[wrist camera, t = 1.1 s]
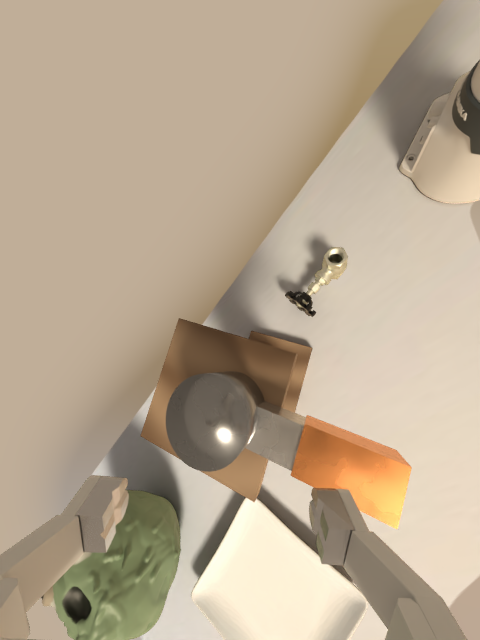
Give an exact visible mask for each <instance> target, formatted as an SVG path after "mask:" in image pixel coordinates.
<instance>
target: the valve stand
mask: <svg viewBox="0 0 480 640" xmlns="http://www.w3.org/2000/svg"><path fill="white" fill-rule="evenodd" d="M311 351H312V348H311V347H307V346H304V345H300V344H296V343H293V342H289V341H286V340H282V339H279V338H275V337H272V336H268V335H265V334H261V333H258V332H254V331H251V333H250V337H249V339H247V338H243V337H240V336H237V335H233V334H230V333H227V332H223V331H220V330H217V329H213V328H210V327H207V326H203V325H200V324H197V323H193V322H190V321H187V320H183V319H179V320H178V323H177V326H176V329H175V332H174V335H173V338H172V341H171V344H170V347H169V350H168V353H167V356H166V359H165V362H164V365H163V368H162V372H161V375H160V378H159V381H158V384H157V387H156V390H155V393H154V396H153V399H152V402H151V405H150V408H149V411H148V414H147V417H146V421H145V424H144V427H143V430H142V433H141V437H143V438H145V439H146V440H148V441H150V442H152V443H153V444H155V445H157V446H158V447H160V448H162V449H164V450H165V451H167V452H169V453H170V454H172V455H174V456H176V457H177V458H179V457H178V456H177V454H176V453H175V451H174V450H173V448H172V446H171V444H170V441H169V439H168V435H167V431H166V410H167V406H168V402H169V400H170V397H171V395H172V394H173V392H174V390H175V389H176V388H177V387H178V385H179V384H180V383H182V382H183V381H184V380H186V379H187V378H189V377H191V376H194V375H197V374H205V373H215V372H226V371H235V372H240V373H243V374H245V375H247V376H248V377H250V378H251V379H252V380H253V381H254V382H255V383H256V384H257V385H258V387H259V388H260V390H261V392H262V394H263V397H264V400H265V401H266V402H269V403H271V404H274V405H276V406H279V407H281V408H284V409H286V410H289V411H291V412H294V413H295V410H296V406H297V402H298V399H299V395H300V391H301V388H302V384H303V381H304V377H305V373H306V370H307V366H308V362H309V359H310V355H311ZM179 459H180V458H179ZM267 463H268V459H266V458H264V457H262V456H260V455H258V454H256V453H254V452H252V451H250V450H248V449H246V448H245V449H244V450H243V451H242V452H241V453H240V454H239V456H238V457H237V458H236V459H235V460H234V461H233V462H232V463H231V464H229V465H228V466H226V467H225V468H223V469H220V470H217V471H212V472H205V471H201V472H203V473H205V474H206V475H208V476H210V477H212V478H213V479H215V480H217V481H218V482H220V483H222V484H224V485H225V486H227V487H229V488H230V489H232V490H234V491H236V492H237V493H239V494H241V495H242V496H244V497H246V498H248V499H249V500H251V501H253V502H254V503H255V500H256V498H257V496H258V494H259V492H260V488H261V484H262V481H263V477H264V474H265V470H266V466H267Z"/></svg>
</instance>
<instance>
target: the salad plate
mask: <svg viewBox="0 0 480 640" xmlns="http://www.w3.org/2000/svg"><path fill="white" fill-rule="evenodd" d="M191 597H192V600H193V601H194V603H195V604H196V605H197V606H198V608H199V609H200V610H201V611H202V613H203V614H204V615H205V616H206V618H207V619H208V620H209V621H210V622H211V624H212V625H213V626H214V627H215V628H216V630H217V631H218V632H219V633H220V635H221V636H222V637H223V638H224V639H225V640H349V639H350V638H351V636H352V635H353V633H354V631H355V630H356V628H357V626H358V625H359V623H360V621H361V620H362V618H363V616H364V614H365V612H366V610H367V607H368V602H367V599H366V598H365V597H364V595H363V594H362V592H361V591H360V590H359V589H358V588H357V587H356V586H355V585H354V584H353V583H352V582H350V581H349V580H348V579H347V578H346V577H344V576H343V575H342V574H341V573H340V572H338V571H337V570H336V569H335V568H334V567H332V566H331V565H328V564H321V560H320V556H319V555H318V554H317V553H316V552H315V551H314V550H312V549H311V548H310V547H309V546H308V545H307V544H306V543H304V542H303V541H302V540H301V539H300V538H299V537H298V536H297V535H295V534H294V533H293V532H292V531H291V530H290V529H289V528H288V527H287V526H286V525H285V524H284V523H282V522H281V521H280V520H279V519H278V518H277V517H276V516H275V515H274V514H273V513H272V512H271V511H270V510H269V509H268V508H267V507H266V506H265V505H264V504H263V503H262V502H261V501H260V500H258V499H257V498H256V500H255V503H254V502H253V501H251V500H249V499H248V498H246V497H245V499H244V500H243V502H242V504H241V505H240V507H239V509H238V511H237V513H236V515H235V517H234V519H233V521H232V523H231V525H230V527H229V529H228V530H227V532H226V534H225V536H224V538H223V540H222V541H221V543H220V545H219V547H218V549H217V550H216V552H215V554H214V555H213V557H212V559H211V560H210V562H209V563H208V565H207V567H206V568H205V570H204V571H203V573H202V575H201V576H200V578H199V579H198V581H197V583H196V584H195V586H194V588H193V590H192V593H191Z"/></svg>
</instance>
